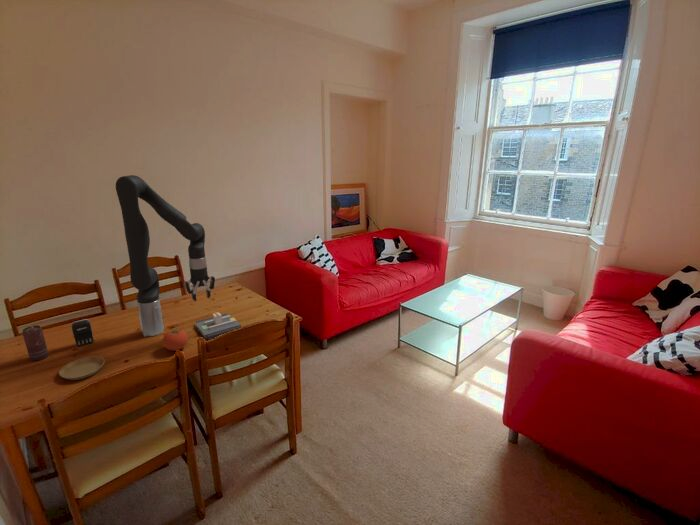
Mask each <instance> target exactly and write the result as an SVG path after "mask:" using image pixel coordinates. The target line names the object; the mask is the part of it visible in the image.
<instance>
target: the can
mask: <svg viewBox="0 0 700 525" xmlns="http://www.w3.org/2000/svg"><path fill="white" fill-rule="evenodd" d="M21 334H22V336H23V340H24V341H23V342H24V344H25V348H26V351H27V353H28V354H27V355H28V358H29V360H30V361H32V362H39V361H42V360H44V359H46V358H48V356H49V351H48V346H47V343H46V339H45V336H44V331H43V327H41V326H40V325H30V326H28V327H25V328H24V329H22V333H21Z"/></svg>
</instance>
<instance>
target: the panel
mask: <svg viewBox="0 0 700 525" xmlns="http://www.w3.org/2000/svg"><path fill="white" fill-rule="evenodd" d="M227 314H228V313H227ZM194 324H195V328H196V327H197V328H198V329H197V328H196V329H197V330H198V332H199V331H200V332H201V333H200V332H199V333H200V334H201V335H203V336H204V337H203V336H202V337H203V338H204V339H205V338H206V339H207V335H209V334H213V333H216V332H220V331H223V330H227V329H230V328H234V327H237V326H240V327H241V328H242V324H241V323H240V322H239V321H238V320H237V319H236V318H235V317H234V316H233V315H232V314H230V313H229V314H228V315H224V316H222V323H221V324H217V325H215V324H214V321H213V319H209V320H205V321H202V322H198V323H196V322H195V323H194Z"/></svg>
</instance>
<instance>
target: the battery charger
mask: <svg viewBox="0 0 700 525" xmlns="http://www.w3.org/2000/svg"><path fill="white" fill-rule="evenodd" d="M71 330H72V331H71V332H72V336H73V338H74V341H75V346H77V347H80V346H86V345H90V344H92V343H94V341H95V339H94V335H93V328H92V324H91V321H90V320H89V319H87V318H84V319H81V320H76V321H73V322H72V323H71Z"/></svg>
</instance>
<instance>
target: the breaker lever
mask: <svg viewBox="0 0 700 525" xmlns="http://www.w3.org/2000/svg"><path fill="white" fill-rule="evenodd" d="M212 317H213V321H214V324H215V325H217V324H221V323H222V314H221V312H217V311H216V312H214V313H212Z"/></svg>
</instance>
